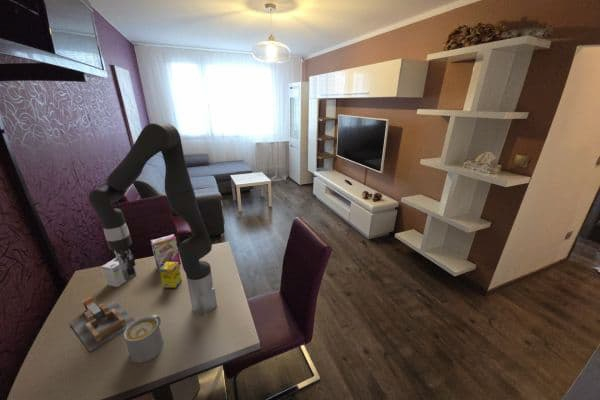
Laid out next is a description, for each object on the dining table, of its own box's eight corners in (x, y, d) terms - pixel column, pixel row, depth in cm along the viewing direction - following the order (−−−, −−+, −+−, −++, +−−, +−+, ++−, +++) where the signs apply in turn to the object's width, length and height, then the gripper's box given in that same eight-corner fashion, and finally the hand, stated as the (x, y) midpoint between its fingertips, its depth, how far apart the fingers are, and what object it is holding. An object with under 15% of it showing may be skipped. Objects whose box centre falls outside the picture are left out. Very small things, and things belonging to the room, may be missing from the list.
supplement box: (176, 288, 115) (172, 269, 111) (163, 288, 115) (159, 269, 111) (182, 280, 121) (178, 261, 117) (170, 280, 121) (166, 261, 117)
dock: (136, 322, 97) (134, 314, 96) (90, 352, 86) (86, 342, 84) (114, 301, 108) (111, 293, 106) (70, 324, 96) (66, 316, 94)
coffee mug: (148, 365, 81) (141, 343, 78) (123, 358, 83) (116, 337, 80) (176, 331, 93) (171, 311, 90) (154, 326, 96) (148, 306, 92)
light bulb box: (126, 271, 127) (121, 253, 123) (137, 273, 125) (132, 255, 121) (106, 285, 117) (100, 266, 113) (118, 287, 116) (111, 268, 112)
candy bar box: (158, 272, 127) (151, 244, 121) (156, 267, 130) (149, 240, 124) (181, 263, 133) (176, 237, 127) (178, 259, 137) (173, 233, 131)
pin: (104, 315, 99) (101, 307, 98) (94, 320, 97) (91, 312, 95) (94, 303, 105) (91, 296, 103) (84, 308, 102) (81, 300, 101)
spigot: (138, 275, 103) (131, 252, 99) (126, 281, 100) (119, 257, 95) (133, 272, 105) (126, 249, 101) (121, 277, 102) (114, 253, 98)
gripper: (137, 236, 95) (147, 273, 101) (120, 227, 102) (130, 262, 108) (114, 245, 89) (126, 283, 95) (98, 234, 96) (110, 270, 102)
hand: (128, 271), depth 102 cm, fingers closed on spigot, 4 cm apart
